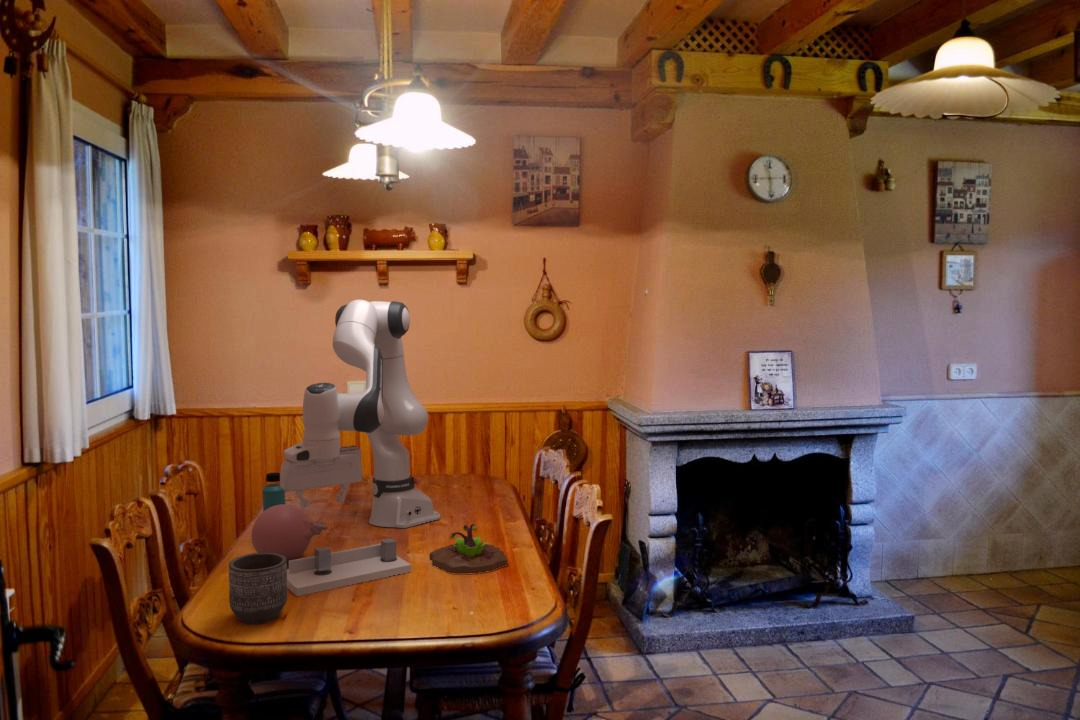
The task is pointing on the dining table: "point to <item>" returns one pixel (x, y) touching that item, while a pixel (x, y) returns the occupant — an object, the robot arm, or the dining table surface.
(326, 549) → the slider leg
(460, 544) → the plant
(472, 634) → the dining table surface
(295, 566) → the grey peg board
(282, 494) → the beverage bottle
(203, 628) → the dining table surface
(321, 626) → the dining table surface
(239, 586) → the planter
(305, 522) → the balloon
